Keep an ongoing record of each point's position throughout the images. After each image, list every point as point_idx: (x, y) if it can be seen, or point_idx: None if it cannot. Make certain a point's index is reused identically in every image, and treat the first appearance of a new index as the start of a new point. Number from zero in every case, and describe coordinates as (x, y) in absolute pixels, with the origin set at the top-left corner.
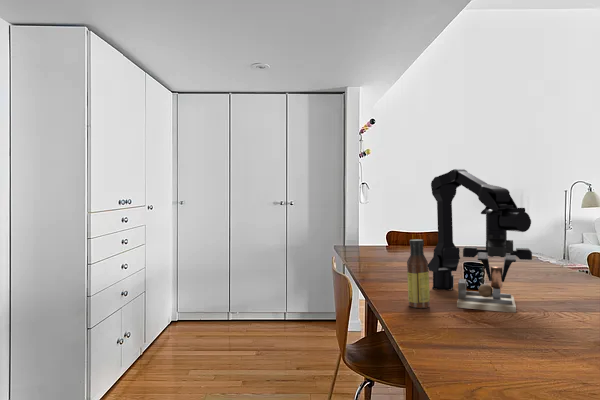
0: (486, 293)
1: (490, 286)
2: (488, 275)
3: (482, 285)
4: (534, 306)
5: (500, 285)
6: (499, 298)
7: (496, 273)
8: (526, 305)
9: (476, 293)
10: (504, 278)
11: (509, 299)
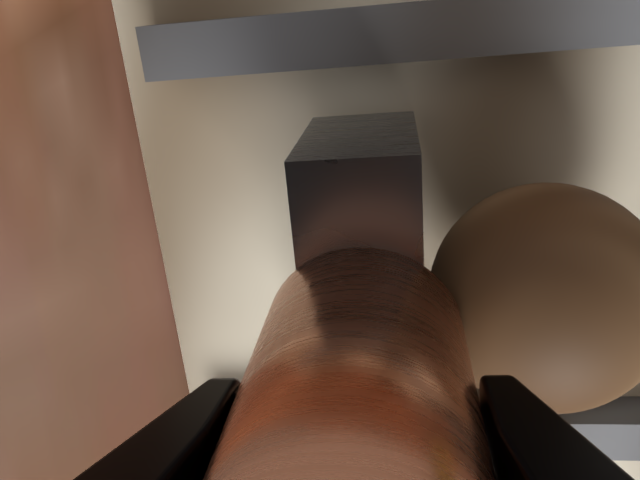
0: (524, 185)
1: (470, 332)
2: (570, 444)
3: (631, 301)
4: (11, 306)
5: (284, 294)
6: (321, 123)
7: (335, 446)
8: (84, 319)
9: (636, 413)
10: (169, 413)
11: (226, 320)
